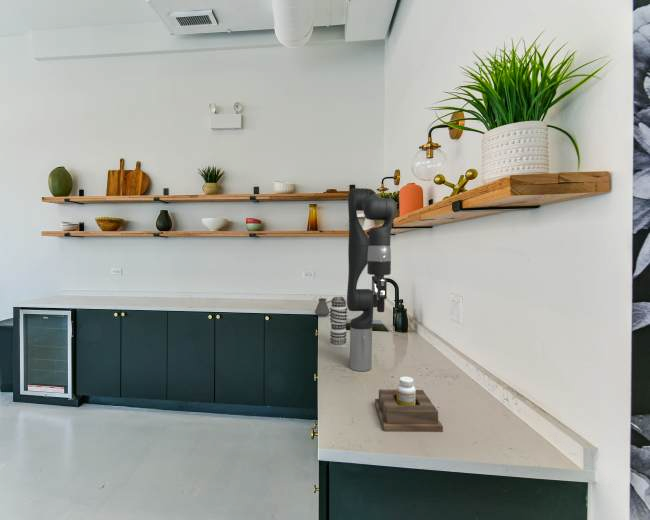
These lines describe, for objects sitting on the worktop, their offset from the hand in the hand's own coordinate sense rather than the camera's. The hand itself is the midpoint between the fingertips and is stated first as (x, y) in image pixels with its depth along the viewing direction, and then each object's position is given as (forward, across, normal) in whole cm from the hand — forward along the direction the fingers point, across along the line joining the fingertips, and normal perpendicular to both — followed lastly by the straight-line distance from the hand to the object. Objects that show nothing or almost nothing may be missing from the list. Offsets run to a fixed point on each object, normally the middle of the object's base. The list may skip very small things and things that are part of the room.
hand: (378, 309), depth 104 cm
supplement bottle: (+29, +10, +7) cm, 31 cm away
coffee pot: (+30, -140, -14) cm, 144 cm away
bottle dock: (+30, +10, +7) cm, 32 cm away
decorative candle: (+30, -63, -10) cm, 71 cm away
